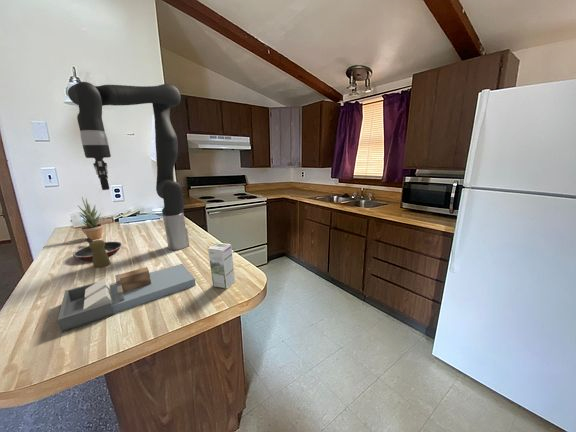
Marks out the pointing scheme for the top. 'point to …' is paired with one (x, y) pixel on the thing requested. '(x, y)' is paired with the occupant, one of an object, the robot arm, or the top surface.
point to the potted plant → (91, 223)
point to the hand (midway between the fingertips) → (105, 188)
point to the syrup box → (221, 265)
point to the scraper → (132, 281)
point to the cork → (99, 254)
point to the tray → (80, 310)
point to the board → (154, 287)
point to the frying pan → (86, 252)
